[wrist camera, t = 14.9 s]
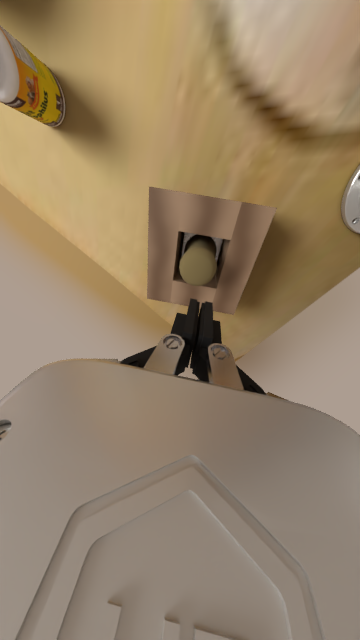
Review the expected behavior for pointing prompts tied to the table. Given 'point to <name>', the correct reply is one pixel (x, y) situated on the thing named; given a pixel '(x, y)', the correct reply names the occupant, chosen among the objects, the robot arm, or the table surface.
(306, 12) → the table surface
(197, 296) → the brown square frame
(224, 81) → the table surface
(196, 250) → the olive pear shape
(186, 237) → the gray square plate
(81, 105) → the table surface
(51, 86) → the supplement bottle
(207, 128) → the table surface
